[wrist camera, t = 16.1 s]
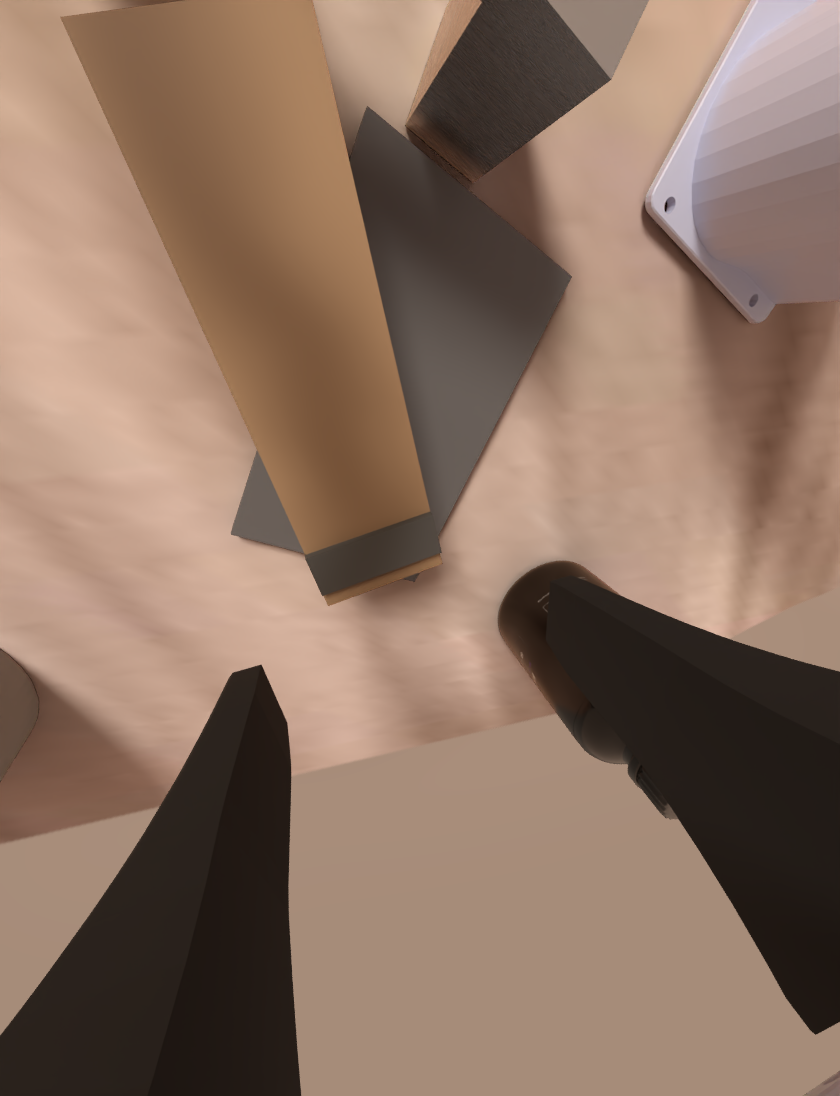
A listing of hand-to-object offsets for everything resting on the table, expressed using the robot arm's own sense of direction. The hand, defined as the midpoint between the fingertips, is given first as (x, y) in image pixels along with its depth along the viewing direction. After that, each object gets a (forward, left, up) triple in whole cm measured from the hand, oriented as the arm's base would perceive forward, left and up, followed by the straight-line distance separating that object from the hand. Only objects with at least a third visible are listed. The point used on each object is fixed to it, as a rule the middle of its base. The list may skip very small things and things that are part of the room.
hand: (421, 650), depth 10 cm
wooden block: (+4, -4, -10) cm, 11 cm away
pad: (0, -4, -10) cm, 11 cm away
